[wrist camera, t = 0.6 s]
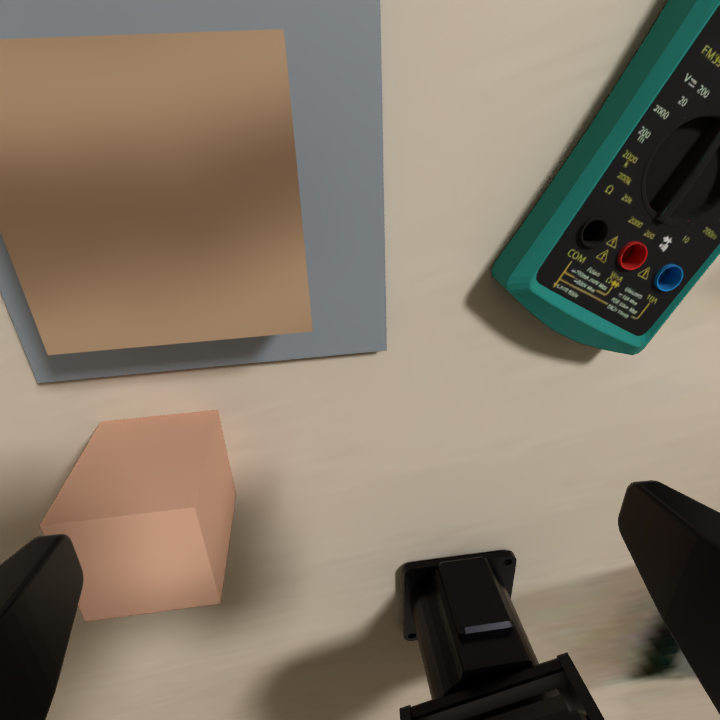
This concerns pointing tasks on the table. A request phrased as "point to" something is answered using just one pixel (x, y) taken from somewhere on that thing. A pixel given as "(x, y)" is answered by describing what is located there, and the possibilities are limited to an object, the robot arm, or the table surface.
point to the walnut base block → (152, 188)
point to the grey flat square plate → (314, 164)
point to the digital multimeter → (631, 196)
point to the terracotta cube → (149, 514)
